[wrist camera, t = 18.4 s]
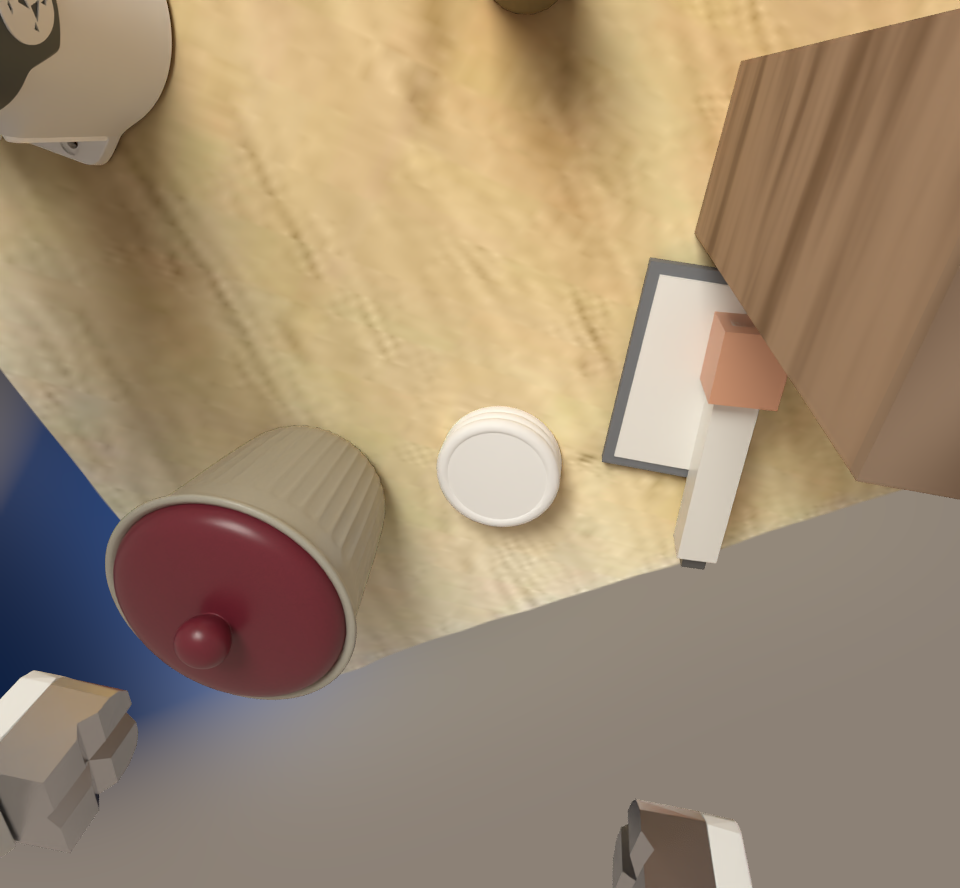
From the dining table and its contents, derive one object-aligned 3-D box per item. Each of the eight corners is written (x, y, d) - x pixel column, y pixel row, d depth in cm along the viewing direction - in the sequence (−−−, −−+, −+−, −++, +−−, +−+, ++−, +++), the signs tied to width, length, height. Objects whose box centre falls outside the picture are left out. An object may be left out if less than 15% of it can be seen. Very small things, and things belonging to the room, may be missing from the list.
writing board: (601, 455, 52) (601, 462, 51) (649, 257, 44) (651, 261, 43) (726, 478, 51) (729, 486, 50) (798, 280, 44) (803, 284, 43)
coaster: (458, 510, 58) (450, 534, 55) (432, 410, 53) (421, 430, 50) (570, 501, 55) (568, 525, 52) (552, 396, 51) (548, 415, 48)
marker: (662, 545, 54) (666, 580, 50) (714, 311, 44) (725, 331, 40) (716, 553, 54) (724, 588, 50) (781, 317, 44) (798, 338, 40)
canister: (372, 369, 52) (248, 517, 34) (444, 547, 60) (373, 748, 41) (191, 414, 57) (-3, 564, 39) (277, 573, 65) (148, 761, 46)
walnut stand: (694, 233, 43) (856, 480, 16) (741, 61, 38) (1099, -25, 11) (832, 253, 42) (1262, 554, 15) (898, 81, 38) (1728, 42, 10)
